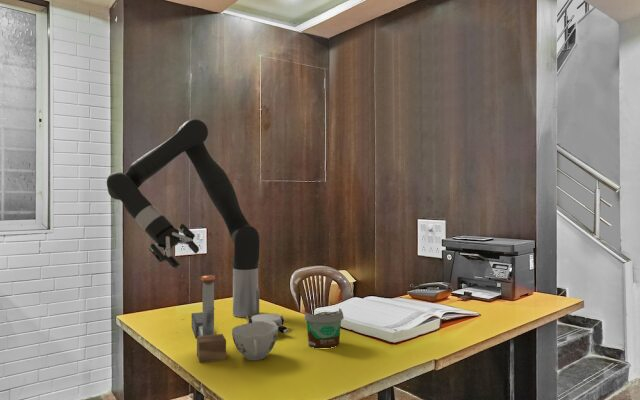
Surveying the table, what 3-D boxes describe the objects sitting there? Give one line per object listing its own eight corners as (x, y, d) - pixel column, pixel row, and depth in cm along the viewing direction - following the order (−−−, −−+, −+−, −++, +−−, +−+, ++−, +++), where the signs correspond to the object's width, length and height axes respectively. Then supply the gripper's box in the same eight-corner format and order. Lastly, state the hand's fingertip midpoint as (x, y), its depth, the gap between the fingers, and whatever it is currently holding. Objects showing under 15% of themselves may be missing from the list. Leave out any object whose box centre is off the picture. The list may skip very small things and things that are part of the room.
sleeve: (191, 326, 154) (191, 313, 154) (205, 325, 156) (205, 312, 156) (195, 338, 142) (195, 323, 142) (210, 336, 143) (210, 321, 143)
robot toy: (291, 340, 143) (281, 324, 157) (291, 326, 142) (282, 311, 157) (251, 344, 139) (245, 327, 154) (251, 329, 139) (246, 313, 153)
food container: (313, 353, 128) (313, 317, 128) (304, 346, 134) (304, 312, 134) (351, 346, 134) (351, 312, 134) (340, 340, 139) (340, 307, 139)
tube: (195, 332, 145) (195, 268, 145) (208, 331, 146) (208, 268, 146) (203, 354, 124) (203, 280, 124) (218, 353, 126) (218, 279, 126)
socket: (196, 355, 126) (196, 336, 126) (222, 352, 129) (222, 333, 129) (199, 362, 121) (199, 342, 121) (226, 359, 123) (226, 340, 123)
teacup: (233, 350, 131) (233, 322, 131) (277, 348, 132) (277, 320, 132) (230, 370, 116) (230, 338, 116) (279, 367, 117) (279, 336, 117)
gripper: (138, 227, 140) (174, 266, 139) (173, 206, 150) (207, 242, 149) (133, 239, 145) (168, 276, 144) (167, 217, 155) (200, 252, 154)
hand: (188, 259), depth 146 cm, fingers open, 8 cm apart
